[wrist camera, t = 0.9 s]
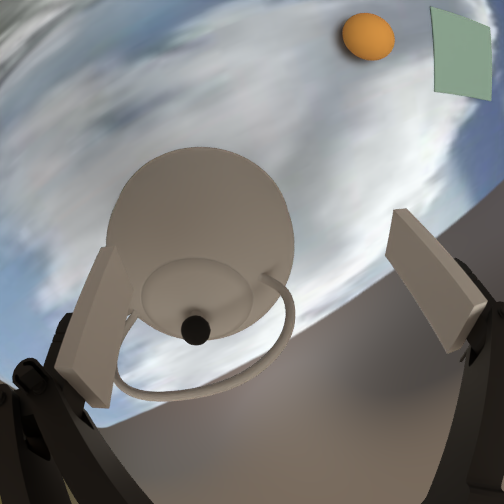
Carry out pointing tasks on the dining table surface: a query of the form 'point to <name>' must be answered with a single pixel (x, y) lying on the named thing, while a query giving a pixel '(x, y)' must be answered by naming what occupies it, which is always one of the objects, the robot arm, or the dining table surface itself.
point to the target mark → (461, 55)
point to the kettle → (203, 253)
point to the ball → (368, 36)
